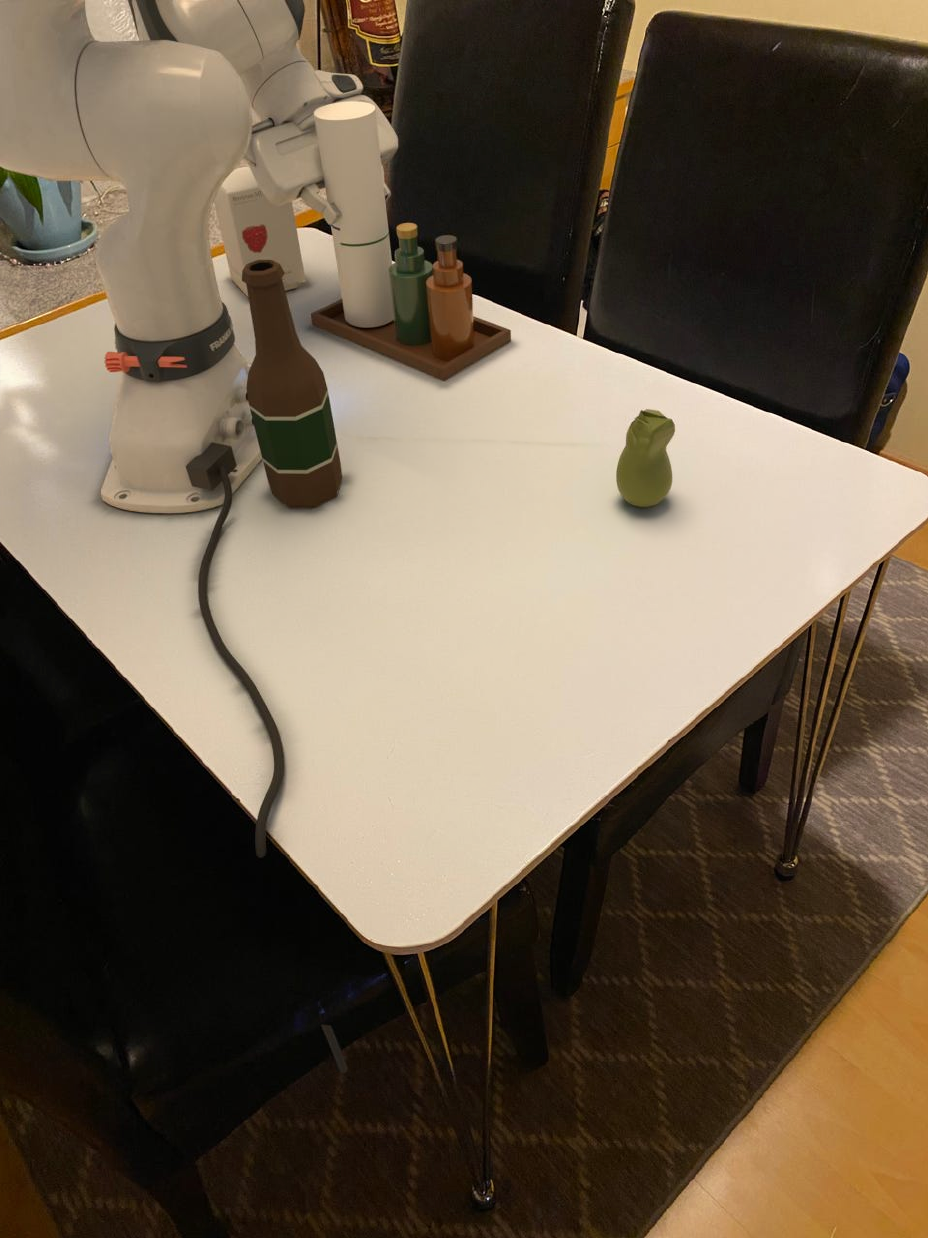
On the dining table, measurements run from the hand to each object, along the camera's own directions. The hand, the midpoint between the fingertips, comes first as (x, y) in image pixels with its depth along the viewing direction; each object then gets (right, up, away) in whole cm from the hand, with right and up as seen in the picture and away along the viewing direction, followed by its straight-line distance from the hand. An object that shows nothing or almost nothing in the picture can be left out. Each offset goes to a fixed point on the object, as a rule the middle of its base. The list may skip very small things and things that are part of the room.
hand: (361, 209), depth 111 cm
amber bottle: (+11, -17, +3) cm, 20 cm away
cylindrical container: (0, -10, +10) cm, 14 cm away
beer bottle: (-4, -37, -16) cm, 41 cm away
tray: (+5, -13, +7) cm, 16 cm away
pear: (+31, -39, -21) cm, 54 cm away
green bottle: (+7, -14, +6) cm, 16 cm away
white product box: (-16, -1, +22) cm, 27 cm away
